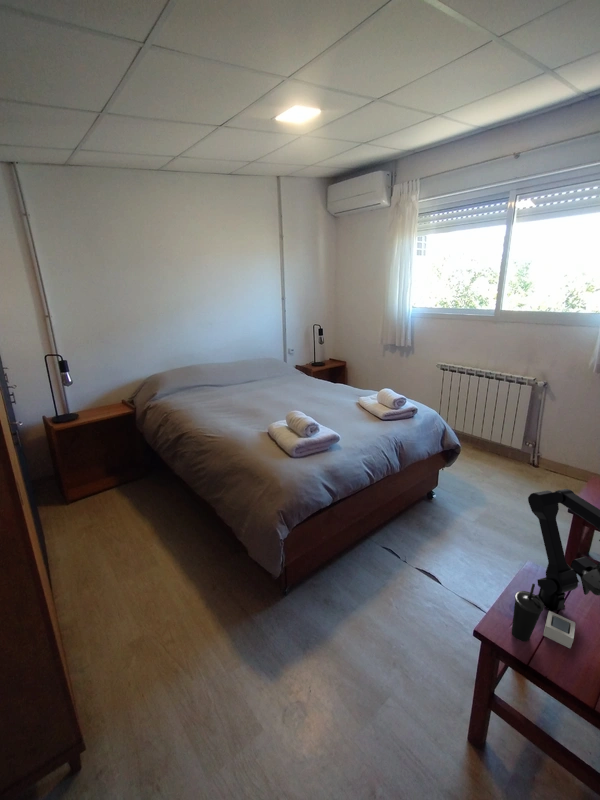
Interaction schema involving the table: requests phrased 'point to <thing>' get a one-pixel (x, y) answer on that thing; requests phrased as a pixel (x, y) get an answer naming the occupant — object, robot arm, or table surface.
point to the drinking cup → (526, 614)
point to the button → (560, 624)
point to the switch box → (558, 634)
